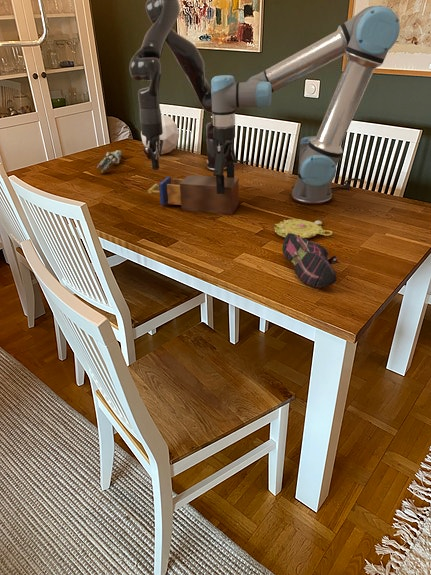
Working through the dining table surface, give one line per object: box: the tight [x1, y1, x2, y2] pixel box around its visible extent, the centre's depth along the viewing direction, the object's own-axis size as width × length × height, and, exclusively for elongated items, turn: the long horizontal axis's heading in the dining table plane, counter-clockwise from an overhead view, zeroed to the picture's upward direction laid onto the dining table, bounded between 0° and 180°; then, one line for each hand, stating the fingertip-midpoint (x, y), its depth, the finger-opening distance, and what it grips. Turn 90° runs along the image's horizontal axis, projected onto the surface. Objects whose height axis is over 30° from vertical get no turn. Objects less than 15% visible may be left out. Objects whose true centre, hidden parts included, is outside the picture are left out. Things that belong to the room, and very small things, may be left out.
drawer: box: [147, 176, 185, 206], centre depth 167 cm, size 23×9×8 cm, turn 74°
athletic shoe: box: [282, 233, 341, 288], centre depth 122 cm, size 11×22×12 cm
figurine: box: [96, 150, 123, 174], centre depth 213 cm, size 7×8×30 cm
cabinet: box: [180, 174, 240, 216], centre depth 164 cm, size 19×10×10 cm, turn 73°
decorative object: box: [273, 218, 333, 239], centre depth 145 cm, size 21×2×20 cm
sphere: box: [140, 113, 180, 155], centre depth 225 cm, size 19×20×20 cm
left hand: (155, 169), depth 165 cm, fingers closed
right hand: (225, 187), depth 161 cm, fingers open, 13 cm apart
